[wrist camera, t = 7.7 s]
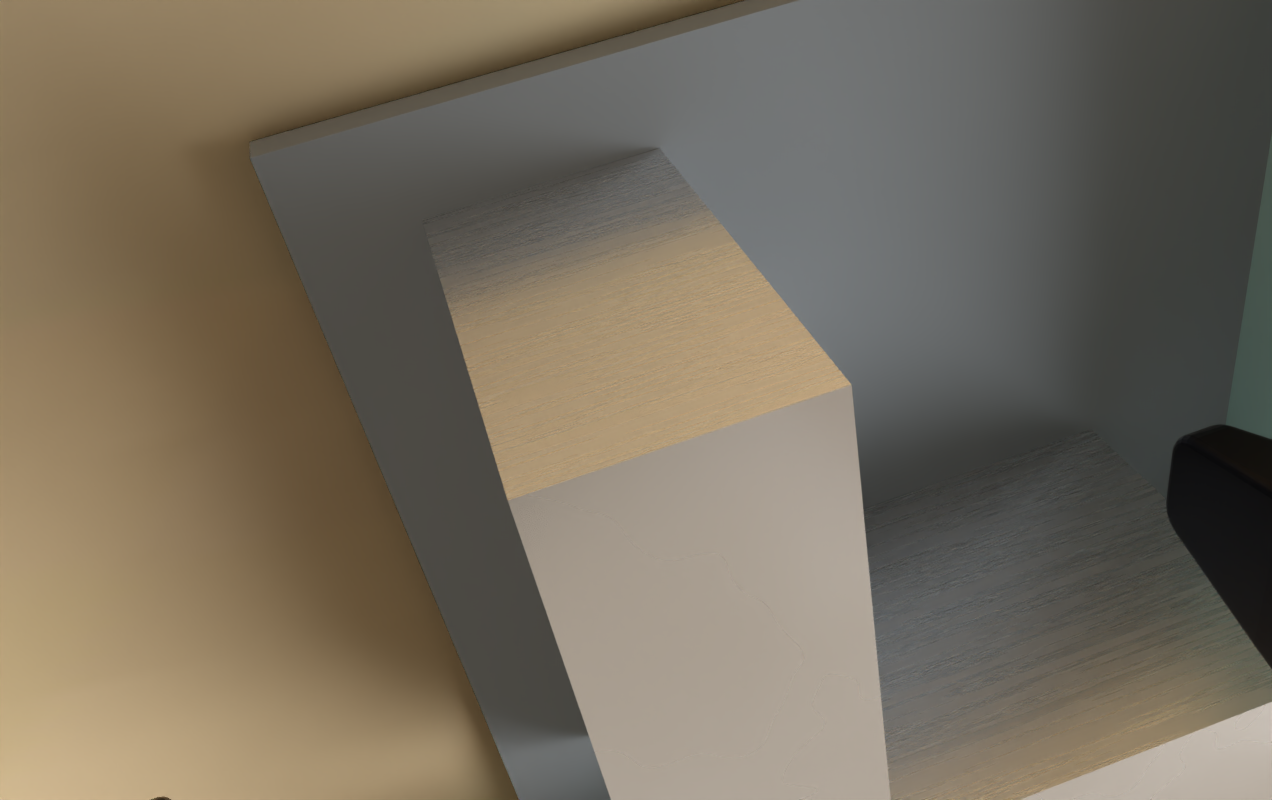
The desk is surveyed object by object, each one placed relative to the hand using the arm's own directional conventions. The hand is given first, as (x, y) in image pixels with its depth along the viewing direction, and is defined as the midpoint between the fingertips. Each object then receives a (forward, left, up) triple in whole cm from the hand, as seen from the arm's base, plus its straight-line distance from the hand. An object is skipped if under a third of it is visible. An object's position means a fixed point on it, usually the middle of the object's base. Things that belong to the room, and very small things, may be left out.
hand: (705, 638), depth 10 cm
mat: (+2, +3, -4) cm, 5 cm away
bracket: (+1, +3, -4) cm, 5 cm away
